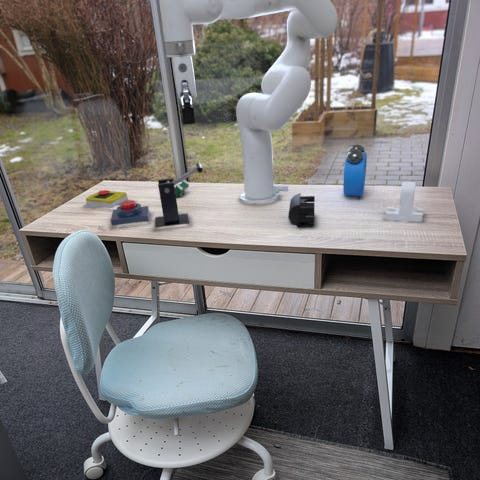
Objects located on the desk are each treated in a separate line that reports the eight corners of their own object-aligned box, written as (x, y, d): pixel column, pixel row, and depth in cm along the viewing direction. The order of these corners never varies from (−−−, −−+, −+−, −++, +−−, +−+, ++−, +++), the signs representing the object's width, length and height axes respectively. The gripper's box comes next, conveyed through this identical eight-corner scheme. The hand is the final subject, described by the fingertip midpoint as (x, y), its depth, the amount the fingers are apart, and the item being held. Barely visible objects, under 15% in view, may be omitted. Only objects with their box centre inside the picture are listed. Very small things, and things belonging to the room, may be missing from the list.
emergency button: (97, 186, 166) (132, 189, 160) (100, 198, 168) (134, 202, 162) (79, 194, 159) (115, 198, 153) (82, 207, 161) (118, 211, 155)
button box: (149, 213, 151) (147, 200, 149) (149, 224, 144) (146, 209, 141) (114, 218, 150) (111, 204, 148) (112, 228, 143) (109, 214, 140)
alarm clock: (362, 202, 146) (365, 152, 138) (341, 201, 148) (343, 152, 140) (364, 188, 157) (368, 141, 148) (345, 188, 158) (347, 141, 150)
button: (136, 205, 147) (135, 199, 146) (135, 209, 143) (134, 204, 142) (122, 206, 146) (121, 201, 145) (121, 211, 143) (120, 205, 142)
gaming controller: (172, 204, 163) (182, 192, 159) (164, 196, 162) (174, 184, 159) (182, 195, 170) (192, 183, 167) (174, 187, 169) (184, 176, 166)
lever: (202, 167, 138) (198, 159, 136) (204, 172, 133) (199, 164, 132) (164, 190, 140) (160, 183, 138) (165, 196, 135) (160, 189, 134)
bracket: (188, 217, 146) (182, 175, 139) (189, 226, 140) (183, 183, 133) (155, 220, 145) (148, 179, 138) (155, 230, 139) (148, 187, 132)
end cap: (290, 215, 141) (289, 193, 137) (314, 215, 140) (314, 192, 136) (288, 228, 133) (288, 205, 129) (314, 228, 132) (314, 204, 128)
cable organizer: (422, 221, 130) (427, 185, 125) (384, 219, 133) (388, 184, 128) (423, 215, 134) (428, 179, 129) (386, 212, 137) (390, 178, 132)
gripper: (196, 49, 114) (204, 125, 124) (193, 46, 129) (200, 114, 138) (165, 52, 114) (175, 127, 123) (165, 48, 128) (174, 116, 138)
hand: (188, 120), depth 131 cm, fingers open, 9 cm apart
